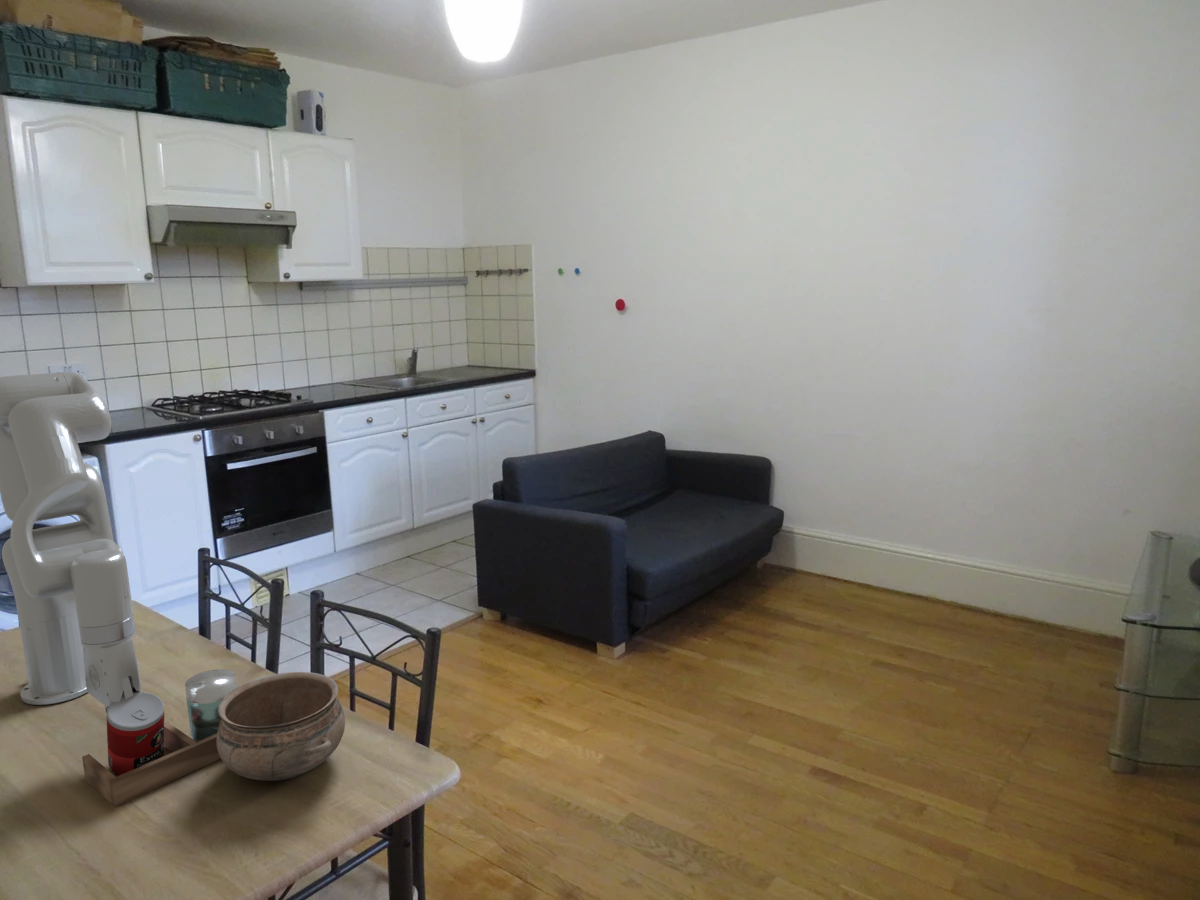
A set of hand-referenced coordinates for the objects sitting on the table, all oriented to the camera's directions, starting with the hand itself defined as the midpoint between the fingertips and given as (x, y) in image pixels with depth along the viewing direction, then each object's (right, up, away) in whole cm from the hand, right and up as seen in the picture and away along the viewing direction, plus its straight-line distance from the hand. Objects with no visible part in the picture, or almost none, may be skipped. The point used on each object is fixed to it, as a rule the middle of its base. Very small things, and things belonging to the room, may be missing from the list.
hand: (122, 735), depth 135 cm
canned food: (+3, -4, -2) cm, 5 cm away
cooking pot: (+27, -5, -2) cm, 28 cm away
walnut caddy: (+9, -4, +1) cm, 10 cm away
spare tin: (+12, -3, +6) cm, 14 cm away
